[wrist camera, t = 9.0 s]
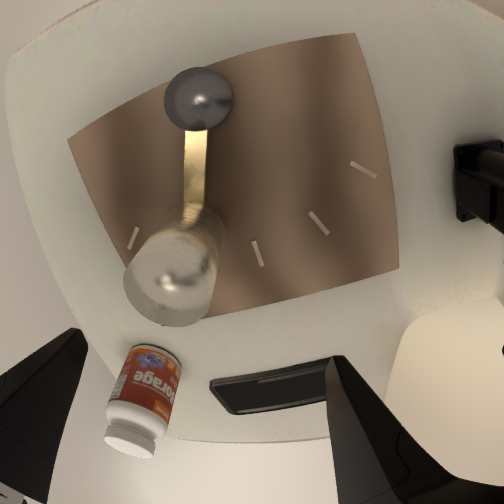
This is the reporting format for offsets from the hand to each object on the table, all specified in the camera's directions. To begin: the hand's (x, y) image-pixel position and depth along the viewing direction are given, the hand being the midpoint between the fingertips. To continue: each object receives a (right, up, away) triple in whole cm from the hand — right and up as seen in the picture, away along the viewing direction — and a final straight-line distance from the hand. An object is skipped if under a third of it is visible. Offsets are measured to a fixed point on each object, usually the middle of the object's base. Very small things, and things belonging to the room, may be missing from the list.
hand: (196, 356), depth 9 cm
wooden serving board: (+1, +7, +10) cm, 12 cm away
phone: (+5, -12, +21) cm, 25 cm away
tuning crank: (-1, +8, +8) cm, 11 cm away
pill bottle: (-9, -8, +19) cm, 23 cm away
